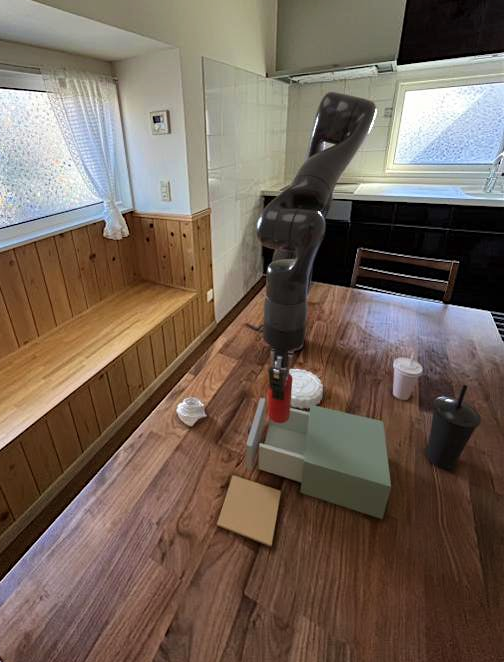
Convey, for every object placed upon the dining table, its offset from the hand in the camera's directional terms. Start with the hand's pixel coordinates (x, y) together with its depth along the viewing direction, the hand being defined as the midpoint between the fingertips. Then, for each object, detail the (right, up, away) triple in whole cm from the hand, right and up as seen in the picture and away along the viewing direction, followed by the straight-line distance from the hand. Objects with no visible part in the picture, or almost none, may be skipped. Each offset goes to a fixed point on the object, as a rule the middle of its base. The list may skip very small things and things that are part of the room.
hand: (280, 389), depth 67 cm
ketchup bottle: (0, -6, +3) cm, 7 cm away
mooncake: (+10, -9, +23) cm, 27 cm away
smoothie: (+37, -9, +21) cm, 43 cm away
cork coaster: (-6, -22, -3) cm, 23 cm away
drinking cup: (+35, -16, +4) cm, 39 cm away
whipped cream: (-19, -13, +18) cm, 29 cm away
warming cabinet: (+13, -18, +3) cm, 22 cm away
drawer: (+2, -16, +7) cm, 17 cm away
